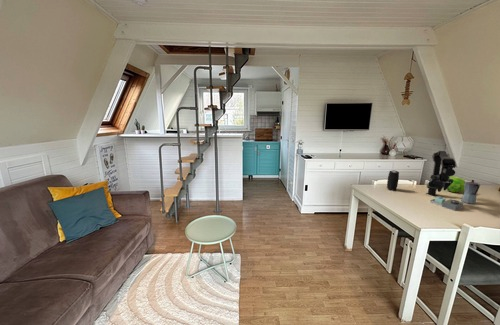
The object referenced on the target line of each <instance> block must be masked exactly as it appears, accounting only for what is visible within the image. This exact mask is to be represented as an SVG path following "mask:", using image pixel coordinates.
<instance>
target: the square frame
mask: <svg viewBox="0 0 500 325" xmlns="http://www.w3.org/2000/svg"><path fill="white" fill-rule="evenodd" d="M429 203H431V204H434V205H437V206H441V207H442V208H445V209H449V210H452V211H457V210H460V209H463V207H464V206H463V205H464V202H462V201H459V200H457V199H456V200H455V199H450V198H449V199H447V200H445V201H444V202H443V203H439V202H436V201H435V198H433V199H431V200H430V201H429Z"/></svg>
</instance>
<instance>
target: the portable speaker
mask: <svg viewBox="0 0 500 325" xmlns="http://www.w3.org/2000/svg"><path fill="white" fill-rule="evenodd" d="M399 175H400V172H399V171H397V170H389V173H388V177H387V181H386V188H387V190H388V191H397V189H398V185H399V177H400V176H399Z"/></svg>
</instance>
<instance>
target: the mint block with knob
mask: <svg viewBox="0 0 500 325" xmlns="http://www.w3.org/2000/svg"><path fill="white" fill-rule="evenodd" d="M434 199H435V201H436V202H439V203H443V202H444V201H447V200H446V198H444V197H443V196H439V195H438V196H435V197H434Z"/></svg>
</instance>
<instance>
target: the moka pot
mask: <svg viewBox="0 0 500 325" xmlns="http://www.w3.org/2000/svg"><path fill="white" fill-rule="evenodd" d="M480 187H481V184H480V183H478V182H475V180H474V179H472V180H471V181H465V190H464V192H463V195H462V198H461V201H460V202H463V203H466V204H472V205H475V204H477V193H478V192H479V189H480Z"/></svg>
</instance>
